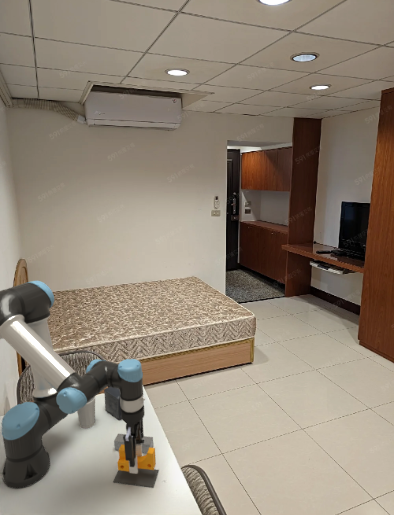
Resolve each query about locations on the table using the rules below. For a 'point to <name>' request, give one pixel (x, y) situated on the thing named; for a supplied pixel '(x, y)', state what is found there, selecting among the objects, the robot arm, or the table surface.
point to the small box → (113, 402)
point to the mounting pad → (137, 477)
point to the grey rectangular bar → (145, 447)
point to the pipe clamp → (143, 461)
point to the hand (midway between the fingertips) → (136, 466)
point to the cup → (87, 415)
